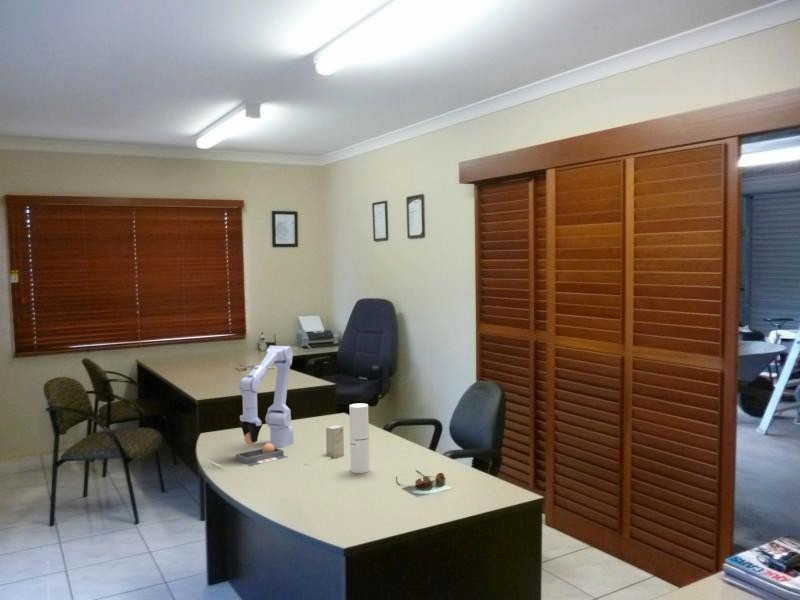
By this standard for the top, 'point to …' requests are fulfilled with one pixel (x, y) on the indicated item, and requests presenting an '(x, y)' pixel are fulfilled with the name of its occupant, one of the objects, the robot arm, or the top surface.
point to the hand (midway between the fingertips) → (251, 440)
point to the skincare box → (335, 441)
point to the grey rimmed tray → (259, 456)
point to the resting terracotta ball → (268, 448)
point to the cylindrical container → (359, 438)
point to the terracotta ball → (248, 439)
